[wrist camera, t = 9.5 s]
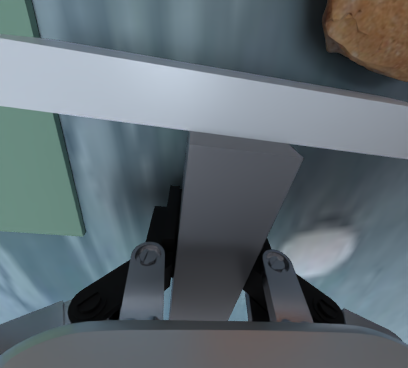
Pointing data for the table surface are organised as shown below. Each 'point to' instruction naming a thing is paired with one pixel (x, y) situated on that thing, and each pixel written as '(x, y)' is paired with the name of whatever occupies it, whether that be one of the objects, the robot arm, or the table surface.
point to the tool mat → (34, 156)
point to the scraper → (207, 143)
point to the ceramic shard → (369, 34)
